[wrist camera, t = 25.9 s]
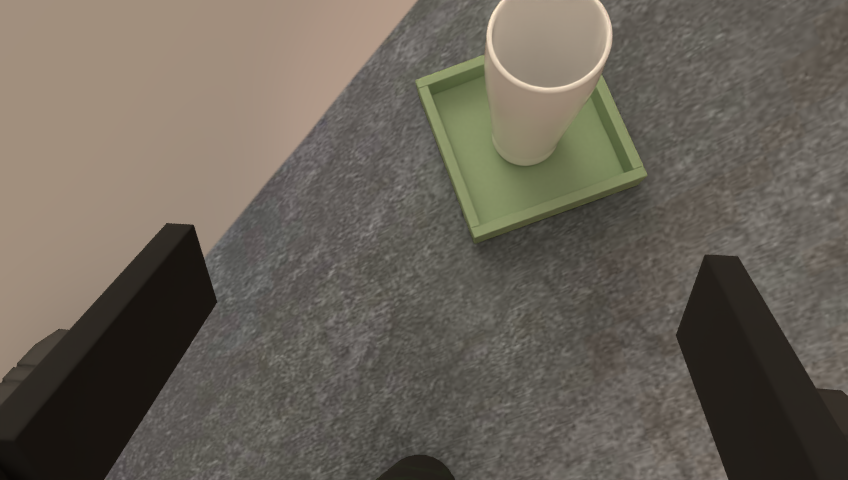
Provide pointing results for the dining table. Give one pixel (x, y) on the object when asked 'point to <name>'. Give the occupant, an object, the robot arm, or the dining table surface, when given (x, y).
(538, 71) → the drinking glass
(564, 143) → the green shallow square tray
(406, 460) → the cup
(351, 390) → the dining table surface
